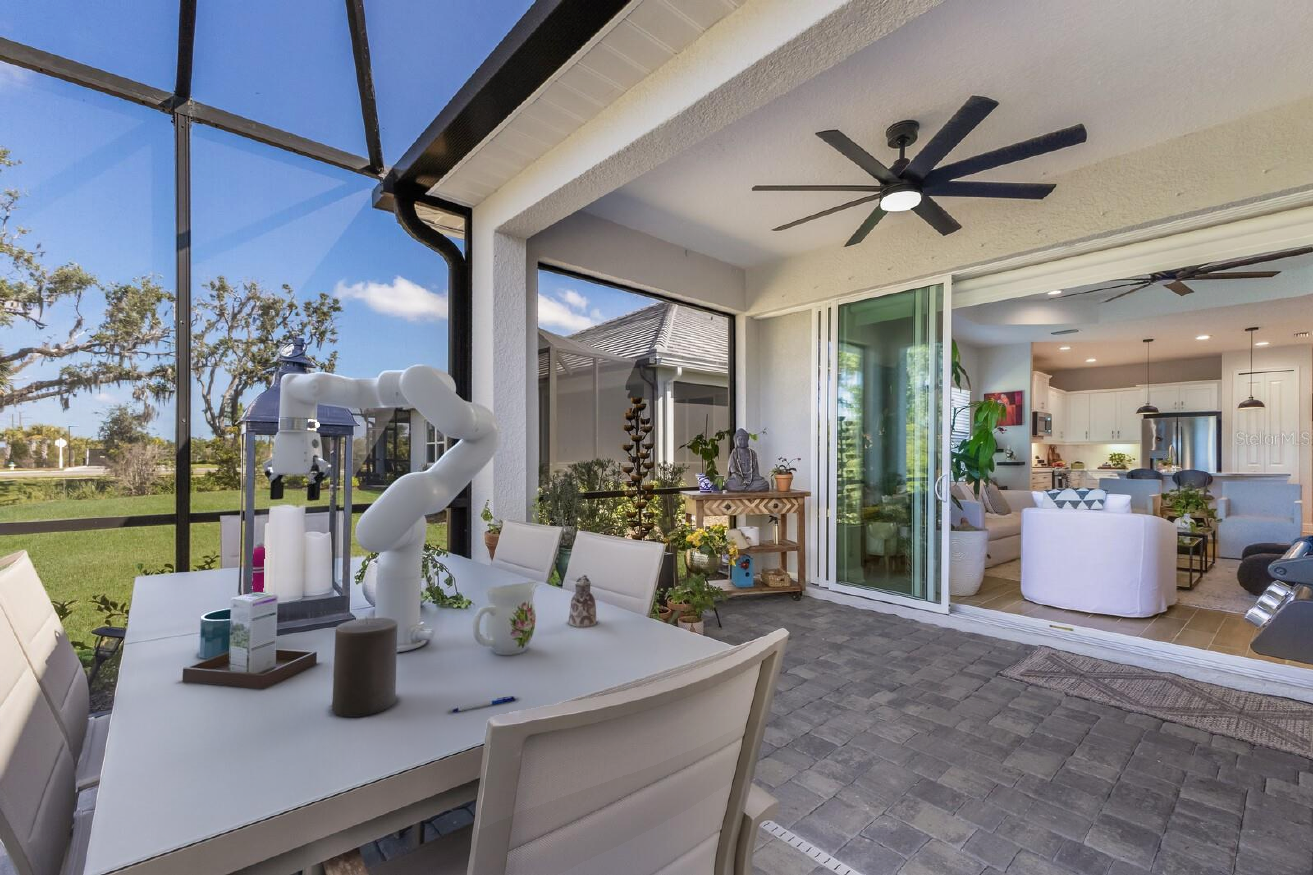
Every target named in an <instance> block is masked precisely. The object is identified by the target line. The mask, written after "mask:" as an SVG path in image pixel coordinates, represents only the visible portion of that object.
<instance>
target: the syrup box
mask: <svg viewBox="0 0 1313 875" xmlns="http://www.w3.org/2000/svg"><path fill="white" fill-rule="evenodd" d="M278 598H279V595H278V594H275V593H274V594H268V593H260V592H255V593H249V594H244V593H243V594H240V595H237V596H235V597H231V598H230V608H231V617H230V646H229V671H234V672H246V673H260V672H263V671H266V670H268V669H271V668H273V667H275V666H276V649H277V636H278V633H277V632H278V626H277V625H278V606H279V604H278V601H279V599H278Z"/></svg>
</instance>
